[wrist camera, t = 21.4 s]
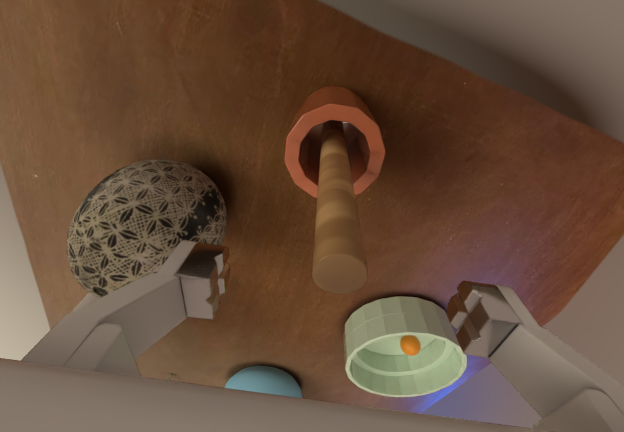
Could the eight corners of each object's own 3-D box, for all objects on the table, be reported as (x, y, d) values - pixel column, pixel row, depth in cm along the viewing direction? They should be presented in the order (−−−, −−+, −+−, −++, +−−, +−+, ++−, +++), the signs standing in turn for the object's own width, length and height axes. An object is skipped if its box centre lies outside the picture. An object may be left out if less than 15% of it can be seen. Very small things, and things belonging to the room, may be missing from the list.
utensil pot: (383, 118, 27) (405, 149, 19) (336, 171, 30) (339, 215, 22) (327, 68, 24) (327, 80, 17) (283, 130, 28) (266, 164, 20)
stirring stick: (347, 125, 27) (379, 273, 10) (333, 141, 27) (342, 302, 11) (331, 112, 26) (337, 244, 9) (318, 128, 27) (301, 277, 10)
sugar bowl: (318, 386, 55) (316, 461, 45) (267, 407, 61) (256, 477, 51) (263, 352, 49) (247, 429, 39) (213, 378, 55) (188, 450, 45)
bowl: (471, 324, 42) (492, 366, 37) (392, 366, 50) (400, 407, 44) (397, 275, 37) (409, 315, 32) (323, 329, 45) (322, 370, 39)
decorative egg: (260, 212, 33) (218, 317, 20) (185, 243, 36) (109, 351, 24) (198, 122, 28) (89, 190, 15) (117, 168, 31) (-28, 256, 18)
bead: (426, 349, 42) (420, 360, 40) (408, 349, 44) (401, 359, 42) (418, 330, 42) (412, 340, 40) (401, 331, 44) (393, 340, 42)
